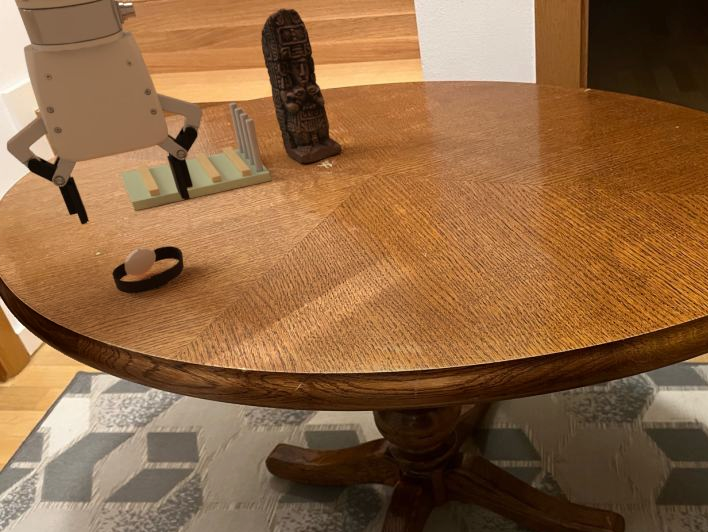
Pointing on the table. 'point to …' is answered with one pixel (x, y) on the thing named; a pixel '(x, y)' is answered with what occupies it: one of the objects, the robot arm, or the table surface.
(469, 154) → the table surface
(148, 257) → the watch
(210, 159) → the rack
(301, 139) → the statue
